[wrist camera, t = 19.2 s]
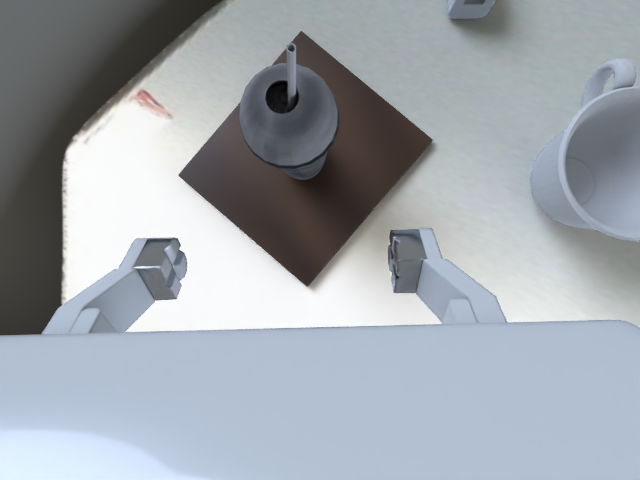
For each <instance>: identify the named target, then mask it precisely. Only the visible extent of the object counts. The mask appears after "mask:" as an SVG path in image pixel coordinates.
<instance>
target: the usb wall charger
mask: <svg viewBox="0 0 640 480" xmlns="http://www.w3.org/2000/svg"><path fill="white" fill-rule="evenodd" d="M495 1H496V0H448V17H449V18H452V19H459V18H481V17H484V16H485V15H486V14H487V13H488V12H489V10H490V9H491V7H492V5H493V4H494V2H495Z"/></svg>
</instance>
